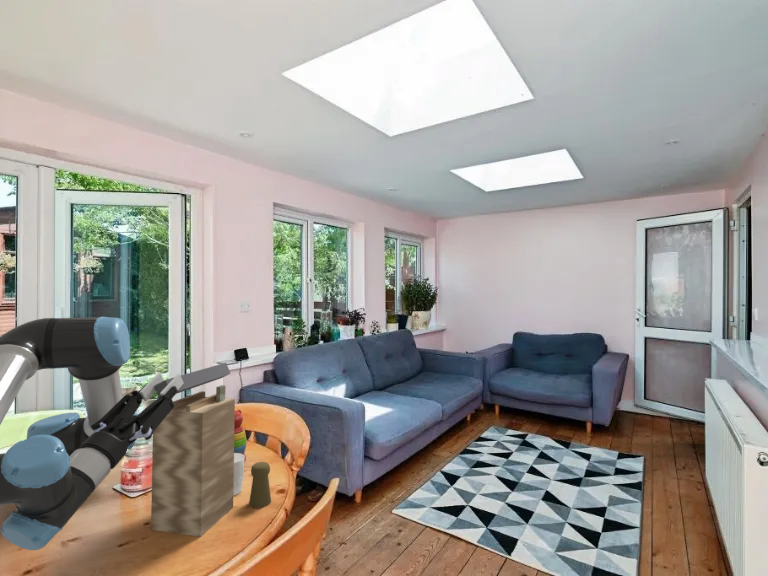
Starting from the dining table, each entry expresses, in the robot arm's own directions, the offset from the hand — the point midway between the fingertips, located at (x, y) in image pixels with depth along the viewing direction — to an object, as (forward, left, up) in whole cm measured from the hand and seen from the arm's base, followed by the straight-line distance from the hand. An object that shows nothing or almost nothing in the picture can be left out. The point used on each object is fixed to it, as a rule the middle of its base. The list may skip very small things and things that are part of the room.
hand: (170, 378), depth 98 cm
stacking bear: (-11, +45, -39) cm, 60 cm away
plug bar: (+1, +9, -4) cm, 10 cm away
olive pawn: (+13, +21, -39) cm, 46 cm away
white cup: (+1, +25, -39) cm, 46 cm away
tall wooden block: (0, +10, -39) cm, 40 cm away
